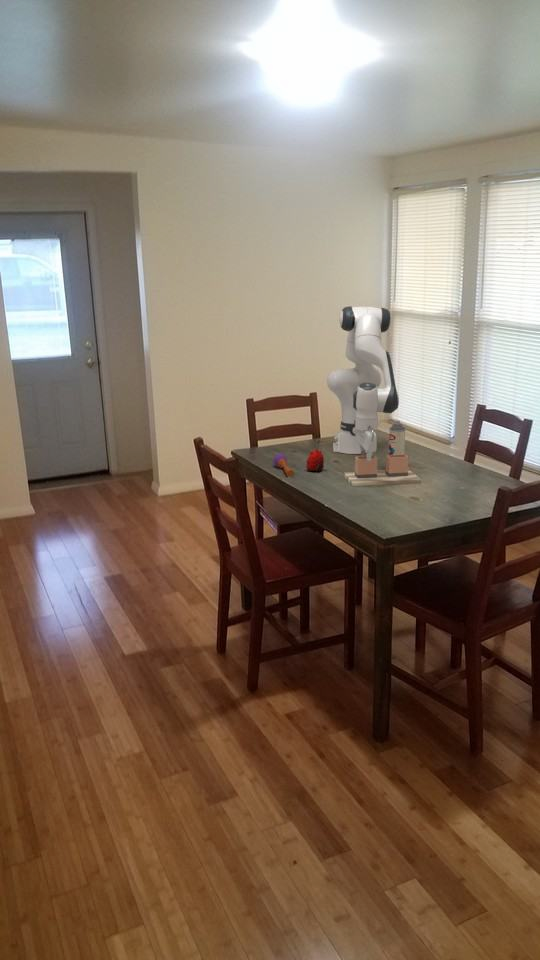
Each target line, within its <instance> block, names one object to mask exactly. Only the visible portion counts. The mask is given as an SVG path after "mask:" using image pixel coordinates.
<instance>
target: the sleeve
mask: <svg viewBox="0 0 540 960" xmlns="http://www.w3.org/2000/svg"><path fill="white" fill-rule="evenodd" d="M366 456H367V455H361V456H360V455H359V456H355V458H354V472H355V476H356V477H357V478H377V471H378V457H376V456H375V455H372V456H371V461H367V460H366Z"/></svg>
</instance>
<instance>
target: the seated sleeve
mask: <svg viewBox="0 0 540 960" xmlns="http://www.w3.org/2000/svg"><path fill="white" fill-rule="evenodd" d="M385 457H386V458H385V470H386V475H387V476H388V477H397V476H408V469H409V459H410V458H409V456H408V455H407V454H406V453H404V454H400V455H389V454H386V455H385Z"/></svg>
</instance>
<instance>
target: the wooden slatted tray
mask: <svg viewBox="0 0 540 960" xmlns="http://www.w3.org/2000/svg"><path fill="white" fill-rule="evenodd" d="M343 477H344V478H345V479H346V481H348V483H349V484H350V486H352V487H368V486H386V485H387V486H388V485H402V484H403V485H404V484H405V485H406V484H407V485H408V483H410V484H421V482H422V481H421V478H420V477H419V476H418V475H416V474H415V473H414V472H412V470H411V469H409V468H408V476H397V477H388V476H387V475H386V469H383V470H382V469H381V470H379V469H377V478H357V477H356V476H355V471H344V472H343Z"/></svg>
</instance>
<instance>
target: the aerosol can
mask: <svg viewBox="0 0 540 960" xmlns="http://www.w3.org/2000/svg"><path fill="white" fill-rule="evenodd" d="M388 432H389V434H388V436H389V437H388V440H389V441H388V455H400V454H406V452H405V450H406V449H405V446H406V427H404V426H403V424H401V422H400V420H395V423H393V424H392V426H390V427H389V431H388Z"/></svg>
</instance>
